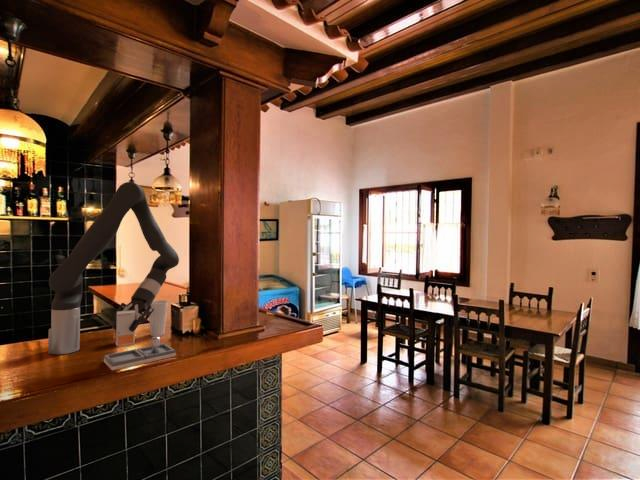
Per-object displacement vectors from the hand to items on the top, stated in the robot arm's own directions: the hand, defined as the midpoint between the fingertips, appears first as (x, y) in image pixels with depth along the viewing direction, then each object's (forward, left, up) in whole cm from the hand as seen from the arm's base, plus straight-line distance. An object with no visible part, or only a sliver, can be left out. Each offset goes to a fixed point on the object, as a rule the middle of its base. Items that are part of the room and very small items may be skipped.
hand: (122, 329), depth 126 cm
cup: (+2, +36, -13) cm, 39 cm away
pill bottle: (-9, +25, -13) cm, 30 cm away
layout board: (+5, +4, -13) cm, 14 cm away
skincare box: (+1, +1, -6) cm, 6 cm away
